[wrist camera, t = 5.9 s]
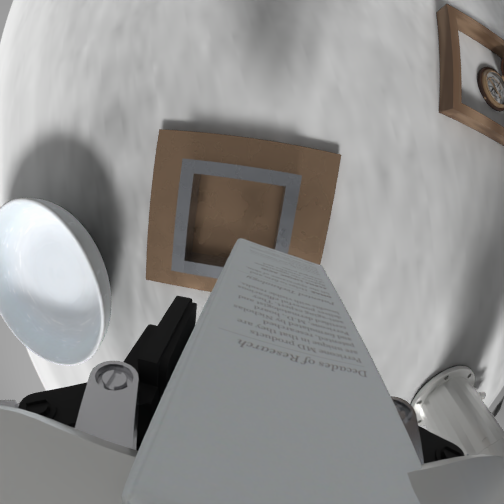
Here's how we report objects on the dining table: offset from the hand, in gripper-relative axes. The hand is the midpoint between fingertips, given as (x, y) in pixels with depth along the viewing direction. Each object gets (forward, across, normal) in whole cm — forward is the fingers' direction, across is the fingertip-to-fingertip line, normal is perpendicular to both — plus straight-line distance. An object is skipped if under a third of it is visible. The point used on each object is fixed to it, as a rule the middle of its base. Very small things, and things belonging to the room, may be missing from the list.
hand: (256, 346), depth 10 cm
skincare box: (+4, 0, 0) cm, 4 cm away
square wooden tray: (+20, -25, -25) cm, 41 cm away
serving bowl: (+21, +24, +9) cm, 33 cm away
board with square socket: (+20, +3, -1) cm, 20 cm away
